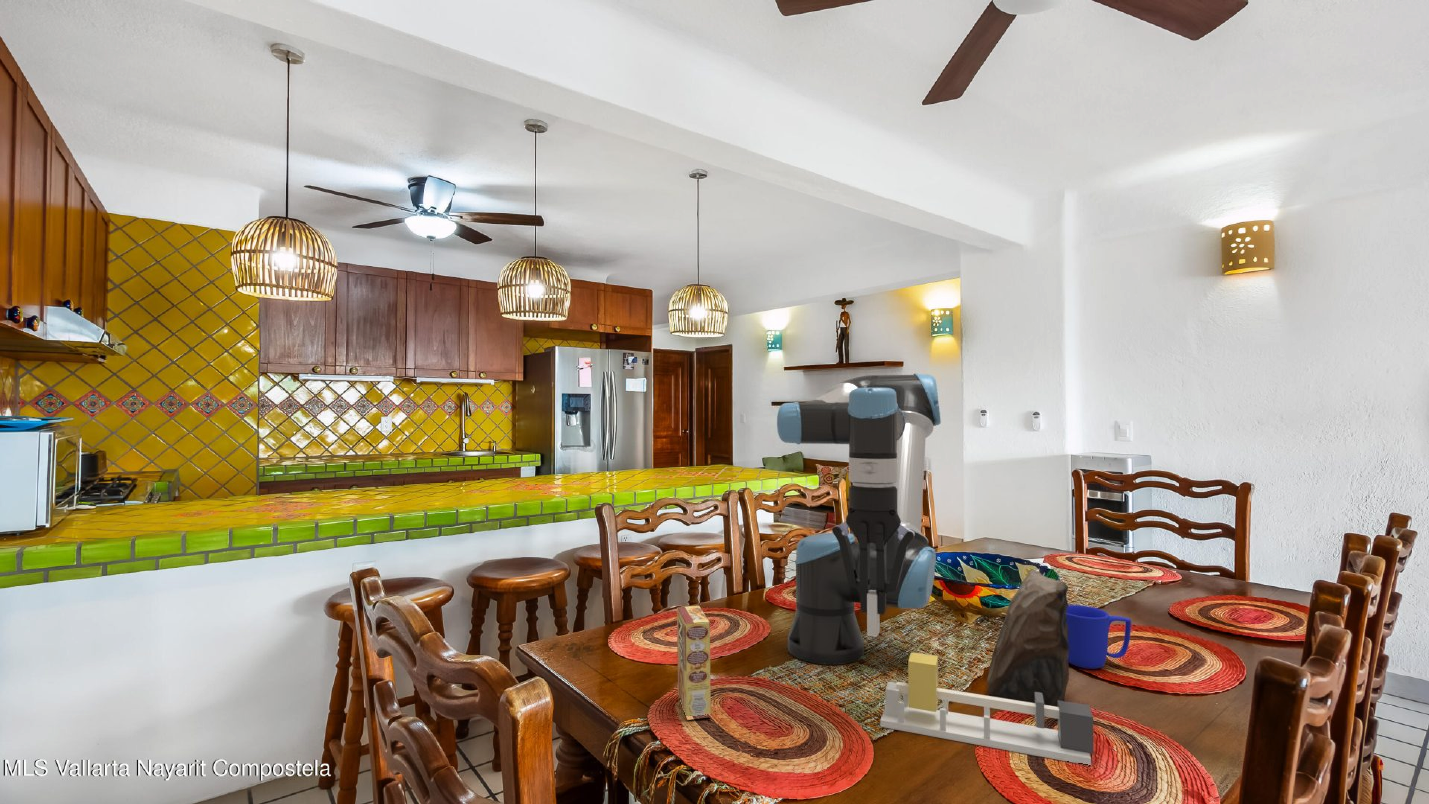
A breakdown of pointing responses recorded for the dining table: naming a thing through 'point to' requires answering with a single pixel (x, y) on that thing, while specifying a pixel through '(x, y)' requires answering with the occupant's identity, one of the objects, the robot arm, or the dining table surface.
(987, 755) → the dining table surface
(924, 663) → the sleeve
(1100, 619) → the mug
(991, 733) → the comb rail
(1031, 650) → the brown rock
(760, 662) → the dining table surface
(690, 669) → the candy box
